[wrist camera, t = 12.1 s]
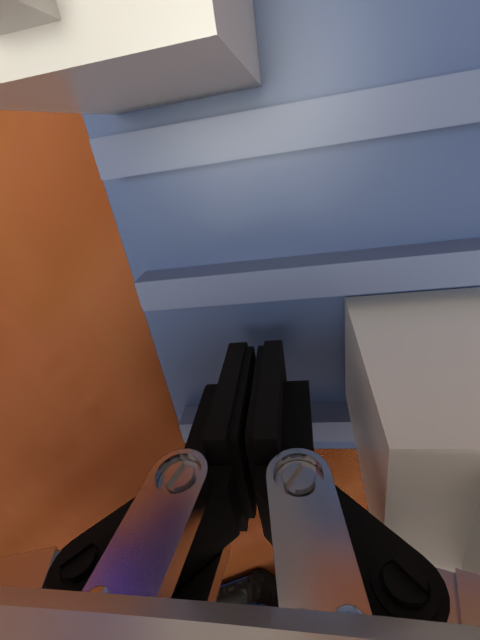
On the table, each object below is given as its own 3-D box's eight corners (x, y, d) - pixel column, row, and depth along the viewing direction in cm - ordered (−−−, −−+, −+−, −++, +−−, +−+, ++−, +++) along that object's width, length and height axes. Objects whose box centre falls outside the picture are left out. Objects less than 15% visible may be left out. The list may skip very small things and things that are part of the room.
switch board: (525, 428, 14) (558, 471, 12) (192, 432, 17) (181, 467, 15) (868, -647, 5) (1199, -1088, 3) (-12, -261, 7) (-105, -379, 6)
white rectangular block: (463, 390, 12) (619, 636, 6) (345, 394, 13) (388, 616, 7) (483, 286, 10) (728, 497, 5) (344, 297, 11) (401, 490, 5)
